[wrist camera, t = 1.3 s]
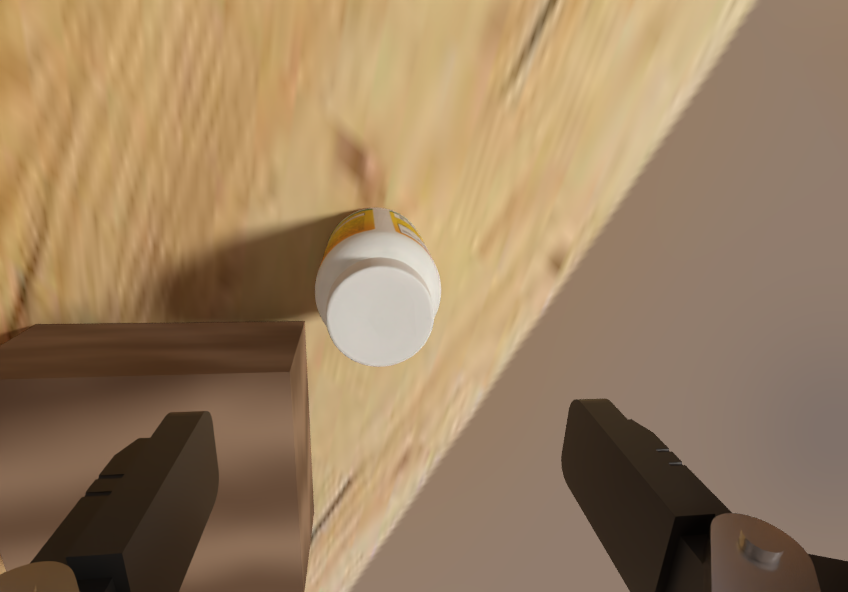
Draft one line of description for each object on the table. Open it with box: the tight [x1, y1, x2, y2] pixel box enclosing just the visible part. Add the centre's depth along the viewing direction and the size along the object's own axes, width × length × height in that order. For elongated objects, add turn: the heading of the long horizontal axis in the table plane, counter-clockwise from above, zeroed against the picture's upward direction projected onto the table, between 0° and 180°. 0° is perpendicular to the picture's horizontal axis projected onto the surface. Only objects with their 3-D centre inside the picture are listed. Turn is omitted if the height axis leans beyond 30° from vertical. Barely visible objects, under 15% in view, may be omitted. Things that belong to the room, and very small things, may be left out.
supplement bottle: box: [315, 208, 441, 367], centre depth 21 cm, size 5×5×10 cm
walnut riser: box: [0, 321, 314, 592], centre depth 25 cm, size 14×14×6 cm
